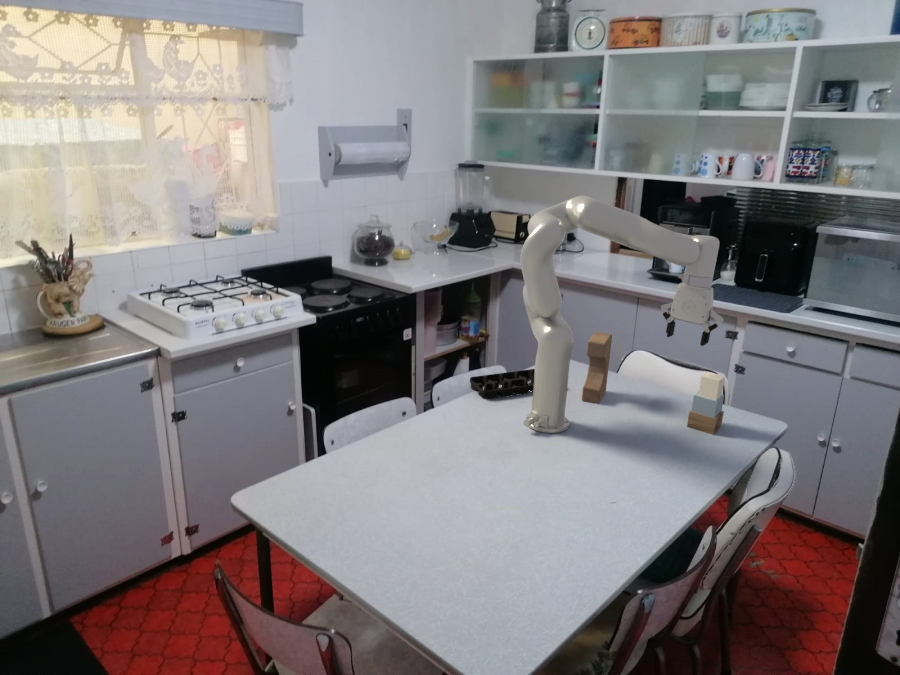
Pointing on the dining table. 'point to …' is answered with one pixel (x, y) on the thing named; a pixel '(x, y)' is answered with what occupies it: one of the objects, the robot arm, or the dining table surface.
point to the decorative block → (597, 367)
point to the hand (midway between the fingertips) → (686, 340)
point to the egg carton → (503, 383)
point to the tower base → (705, 422)
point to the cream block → (711, 386)
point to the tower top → (707, 405)
